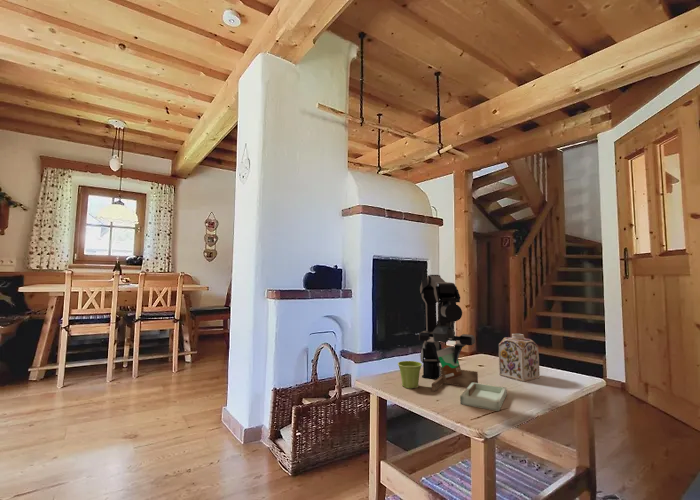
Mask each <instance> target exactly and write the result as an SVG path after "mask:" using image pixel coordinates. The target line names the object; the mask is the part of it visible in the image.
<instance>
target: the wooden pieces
mask: <svg viewBox="0 0 700 500" xmlns="http://www.w3.org/2000/svg"><path fill="white" fill-rule="evenodd" d="M461 372H462V375H461V376H459V377H456V378H452V379H449V380H446V377H445V374H444V371H443V368H442V366H441V376H440V377H439V378H438V379H435V380H434V382H432V383H431V392H436V391H437V390H438V389H439V388H440V387H442V385H443V384H447V385H453V386H454V385H455V386H460V387H466V388H468V386H469V385H470V384H471V383H472V382H474V383H479V380H478V379H479V378H478V377H479V372H478V371H474V370H469V369H467V370H466V369H461ZM475 389H476V384H474V385H473V386H472V387H471V388H470V389H469V396H471V395H472V393H473V392H474V391H475Z"/></svg>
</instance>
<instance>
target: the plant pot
mask: <svg viewBox="0 0 700 500" xmlns="http://www.w3.org/2000/svg"><path fill="white" fill-rule="evenodd" d="M397 365H398V368H399V371H400V373H399V374H400V378H401V379H400V380H401V385H402V387H403V388H405V389H415V388H418V387H419V380H420V372H421V369H422V368H421V367H423V363H422V362H421V361H420V362H419V361H415V360H401V361H399V362H397Z"/></svg>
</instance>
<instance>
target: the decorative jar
mask: <svg viewBox="0 0 700 500" xmlns="http://www.w3.org/2000/svg"><path fill="white" fill-rule="evenodd" d="M539 352H540V351H539V346H538V344H537V343H536V341H534V340H532V339H531V338H528V337H527V338H526V337H525V335H524V334H522V333H511V336H508V337H506V336H505V337H503V339H502V340H501V341H500V342H499V343H498V369H499V370H498V371H499V375H500V376H502V377H505V378H508V379H512V380H515V381H520V382H523V383H525V382H529V381H533V380H536V379H539V378H540V372H541V371H540V355H539Z"/></svg>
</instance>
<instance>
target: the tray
mask: <svg viewBox="0 0 700 500" xmlns="http://www.w3.org/2000/svg"><path fill="white" fill-rule="evenodd" d="M474 384H476V389H475V391H474V392H473V393H472V395H471V396H469V389H470V388H471V387H472V386H473V385H474ZM507 392H508V391H507V387H505V386H498V385H492V384H488V383H487V384H485V383H479V382H478V383H474V382H472V383H471V384H470V385H469V386H468V387H466V389H465V390H464V391H463V392H462V393H461V395H460V396H459V401H460V405H464V406H469V407H474V408H479V409H485V410H490V411H495V412H500V410H501V408H502V405H503V403H504V402H505V399H506V397H507V395H508V394H507Z"/></svg>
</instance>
